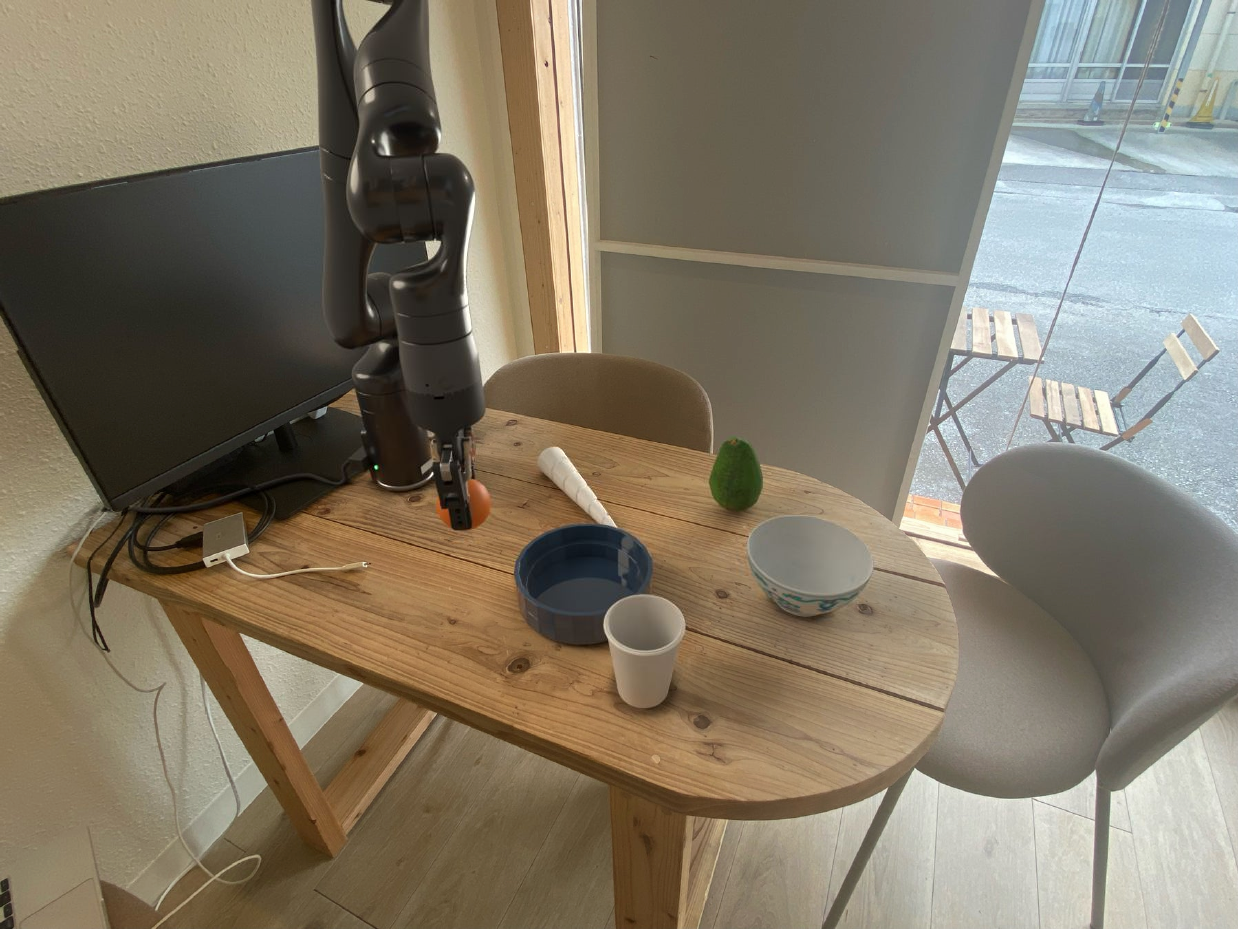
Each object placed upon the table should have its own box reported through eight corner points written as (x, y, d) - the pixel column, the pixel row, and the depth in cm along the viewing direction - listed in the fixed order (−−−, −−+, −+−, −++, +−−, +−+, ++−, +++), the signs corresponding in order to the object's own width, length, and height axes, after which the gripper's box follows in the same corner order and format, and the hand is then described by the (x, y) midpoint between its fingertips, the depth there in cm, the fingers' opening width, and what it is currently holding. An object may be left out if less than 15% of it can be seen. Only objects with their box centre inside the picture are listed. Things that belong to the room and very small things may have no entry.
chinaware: (719, 577, 85) (724, 532, 81) (811, 548, 90) (819, 504, 86) (786, 658, 74) (796, 610, 70) (887, 620, 79) (902, 572, 74)
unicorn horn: (601, 553, 90) (600, 525, 87) (537, 473, 108) (534, 448, 105) (630, 542, 92) (630, 515, 89) (562, 466, 109) (561, 441, 107)
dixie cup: (592, 703, 69) (589, 638, 63) (623, 648, 75) (623, 584, 70) (665, 730, 66) (668, 664, 60) (691, 670, 72) (696, 606, 67)
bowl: (497, 635, 77) (492, 602, 74) (543, 546, 91) (540, 515, 88) (637, 660, 74) (637, 626, 71) (662, 564, 88) (663, 532, 85)
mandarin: (431, 537, 72) (421, 490, 69) (455, 506, 77) (447, 461, 73) (480, 545, 71) (473, 497, 67) (501, 513, 76) (495, 467, 72)
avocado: (718, 488, 103) (724, 422, 97) (765, 501, 100) (774, 434, 94) (699, 514, 97) (704, 446, 91) (749, 529, 94) (758, 459, 88)
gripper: (415, 349, 69) (440, 478, 78) (390, 409, 57) (422, 554, 66) (485, 346, 70) (501, 474, 79) (474, 405, 58) (495, 548, 67)
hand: (465, 510), depth 73 cm, fingers closed on mandarin, 6 cm apart
